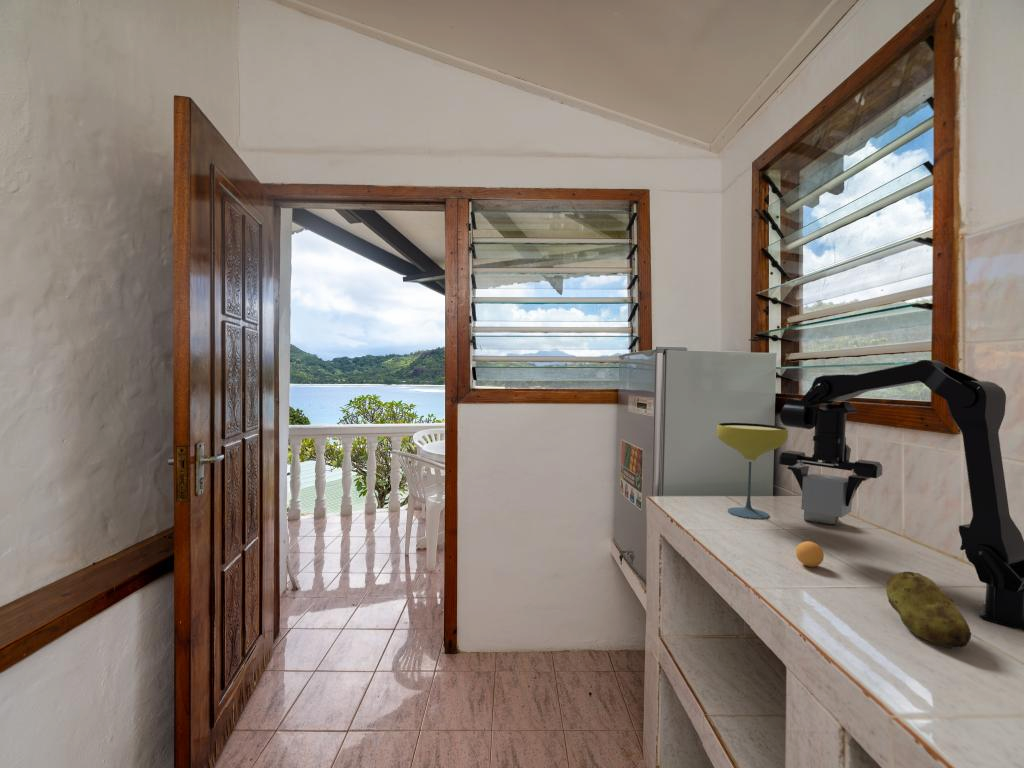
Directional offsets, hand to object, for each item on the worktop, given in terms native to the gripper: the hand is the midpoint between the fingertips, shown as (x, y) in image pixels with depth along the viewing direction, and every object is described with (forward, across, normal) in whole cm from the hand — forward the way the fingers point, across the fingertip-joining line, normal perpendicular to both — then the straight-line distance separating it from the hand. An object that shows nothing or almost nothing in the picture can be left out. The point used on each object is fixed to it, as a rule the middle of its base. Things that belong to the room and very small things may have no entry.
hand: (826, 502), depth 111 cm
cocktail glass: (+12, +24, -20) cm, 34 cm away
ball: (+9, 0, +10) cm, 14 cm away
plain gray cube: (+2, 0, 0) cm, 2 cm away
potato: (+12, -21, +26) cm, 35 cm away
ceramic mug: (+12, +9, -29) cm, 33 cm away
